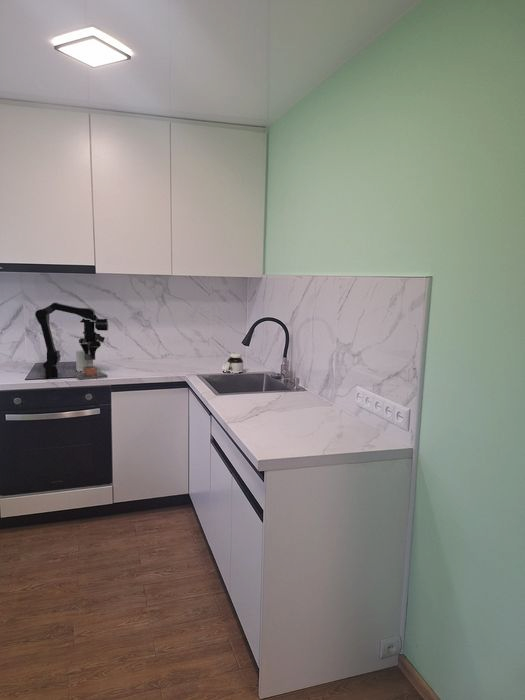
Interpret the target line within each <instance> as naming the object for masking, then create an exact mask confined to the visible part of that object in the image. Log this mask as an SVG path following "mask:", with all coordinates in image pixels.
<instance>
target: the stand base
mask: <svg viewBox="0 0 525 700" xmlns="http://www.w3.org/2000/svg"><path fill="white" fill-rule="evenodd" d="M74 377H75V378H74ZM72 378H74V379H76V378H77V381H86V380H87V381H88V380H95V379H104V378H105V379H106V378H108V374H106V373H104V372H102V371H98V367H97V366H95V365H93V367H91V368H88V367H87V366H86V367H83V372H81V373H73V374H72Z"/></svg>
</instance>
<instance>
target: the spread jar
mask: <svg viewBox="0 0 525 700" xmlns="http://www.w3.org/2000/svg"><path fill="white" fill-rule="evenodd" d="M229 356H230V357H229V358H228V359H227V362H224V363H223V364H222V367H221V370H222V369H225V371H227V372H229V371H228V370H231V371H241V370H243V371H244V360H243V358H242V355H241V354H240V353H231V354H229Z"/></svg>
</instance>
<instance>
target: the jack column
mask: <svg viewBox="0 0 525 700" xmlns="http://www.w3.org/2000/svg"><path fill="white" fill-rule="evenodd" d="M84 358H85V360H87V367H88V368H91V367H93V366H94V361H95V360H96V355H95V356H94V358H92V357H91V355H90V354H84Z"/></svg>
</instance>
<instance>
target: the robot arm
mask: <svg viewBox="0 0 525 700" xmlns="http://www.w3.org/2000/svg"><path fill="white" fill-rule="evenodd" d="M55 311H59V312H64V313H68V314H73V315H77V316H79V317H81V318H82V319H81V320H80V321H79V322H80V323H81V324H83V332H82V334H83V337H81V338H79V339H78V343H79V345H80V347H81V350H83V351H84V353H85V354H88V353H89V352H90V355H91V357H92V358H94V356H95V357H96V352H97V350H98V349H99V348H100V347H101V343H104V342H105V340H106V337H105V336H102V335H101V334H100V333H97V332H96V331H104V332H106V331H109V322H108V318H98V316H97V315H96V313H95V311H96V310H94V308H91V307H89V308H88V307H77V306H72V305H67V304H63V303H58V302H52V303H51V304H50V305H48V306H46V307H44V308H41V309H37V310H36V311H35V318H36V320H37V321H38V324H39V325H40V327H41V331H42V335H43V336H42V337H43V340H44V343H45V347H46V361H45V362H44V363H43V364H42V366H43V375H42V377H43V378H45V379H53V378H55V377H56V378H59V376H58V375H59V373H58V370H59V369H58V367H57V365H58V363H59V362H60V361H61V358H62V355H61V353H60V352H61V351H60V350H59V349H56V347H55V342H54V337H53V334H52V330H51V327H50V314H52V313H54V312H55ZM95 329H96V331H95Z"/></svg>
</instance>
